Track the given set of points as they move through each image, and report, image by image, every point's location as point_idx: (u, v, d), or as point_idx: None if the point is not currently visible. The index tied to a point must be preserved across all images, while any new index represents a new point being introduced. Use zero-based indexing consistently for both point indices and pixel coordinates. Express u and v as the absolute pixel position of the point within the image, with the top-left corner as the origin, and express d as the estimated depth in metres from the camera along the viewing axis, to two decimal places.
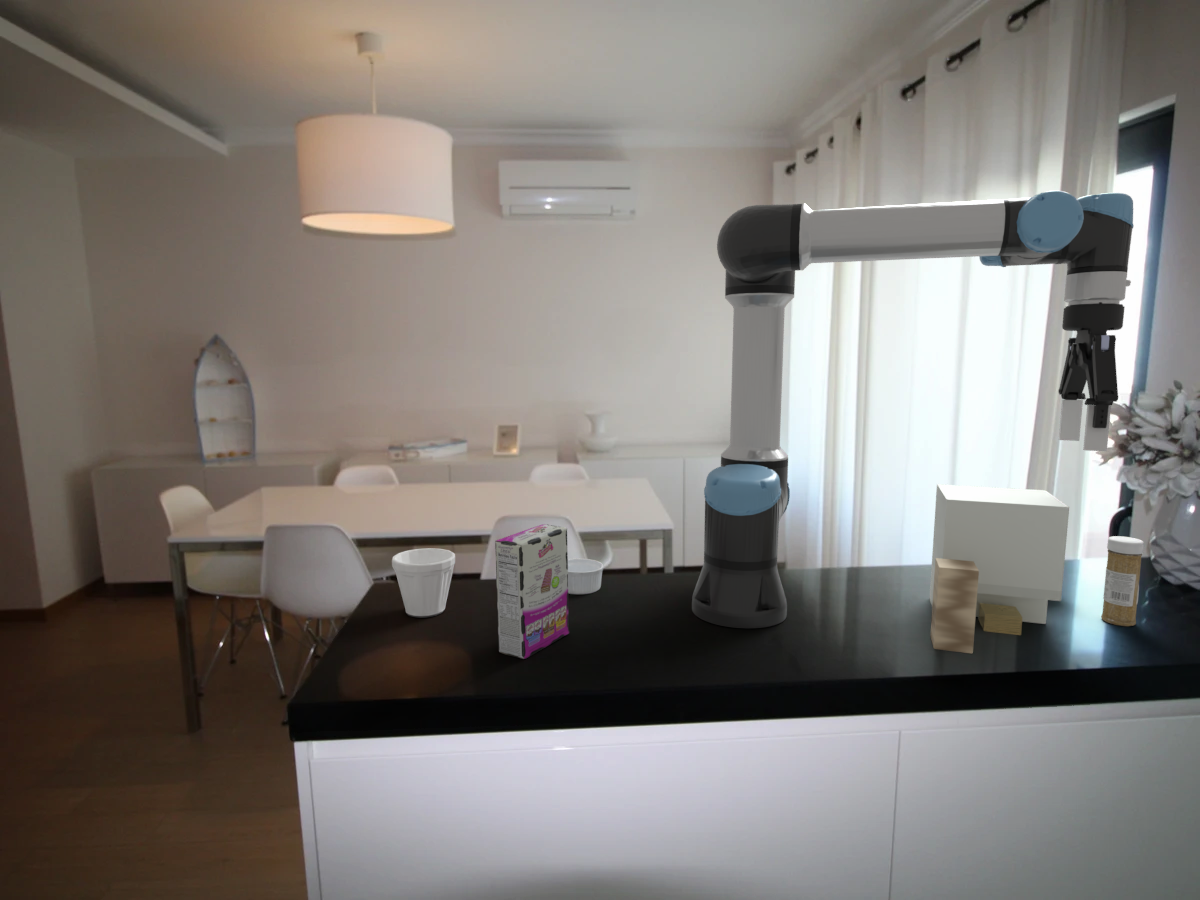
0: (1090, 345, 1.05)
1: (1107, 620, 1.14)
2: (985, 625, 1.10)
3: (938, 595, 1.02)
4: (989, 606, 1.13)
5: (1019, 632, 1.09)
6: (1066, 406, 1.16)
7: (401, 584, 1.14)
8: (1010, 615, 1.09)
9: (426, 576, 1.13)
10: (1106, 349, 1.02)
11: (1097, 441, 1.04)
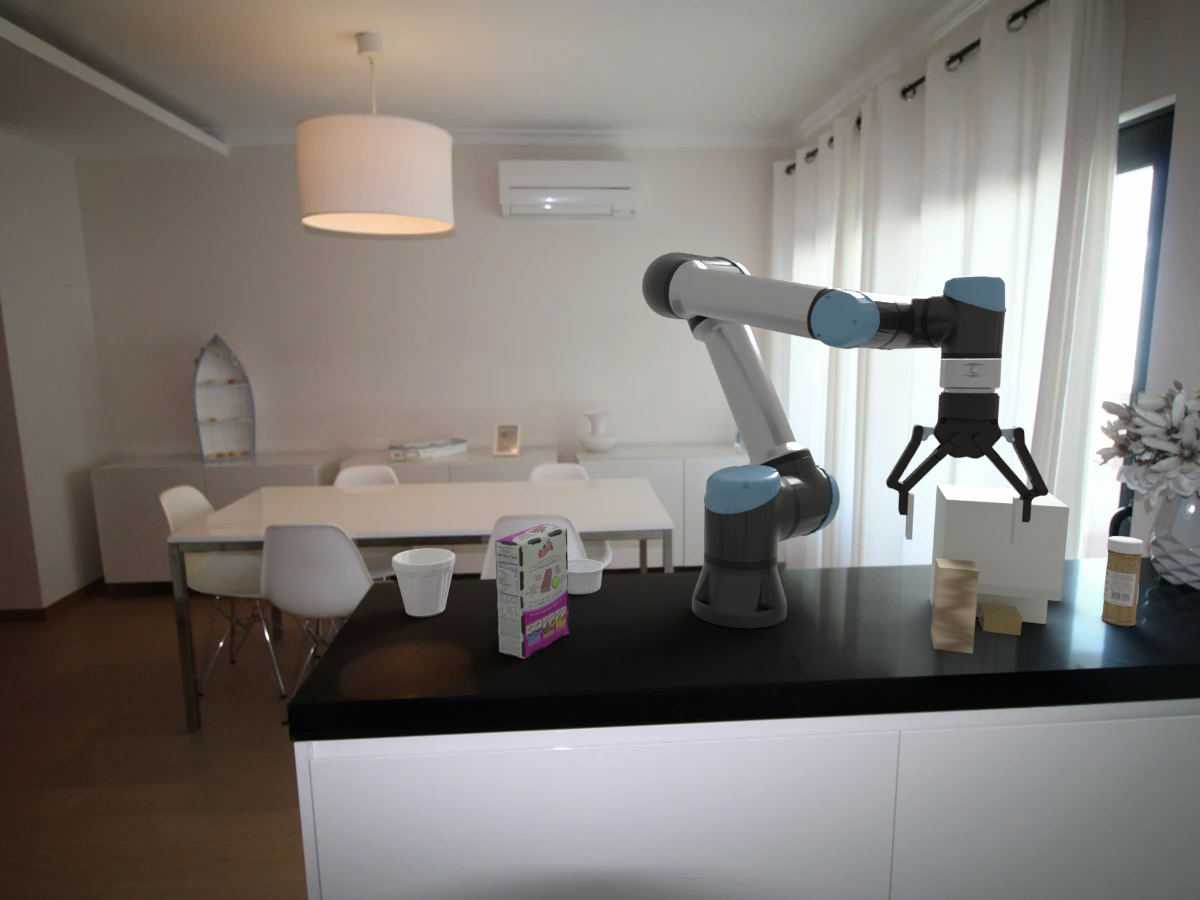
0: None
1: (1107, 620, 1.14)
2: (984, 625, 1.10)
3: (938, 595, 1.02)
4: (989, 606, 1.13)
5: (1018, 632, 1.09)
6: (1013, 504, 1.01)
7: (401, 584, 1.14)
8: (1010, 615, 1.09)
9: (426, 576, 1.13)
10: None
11: (906, 528, 1.05)
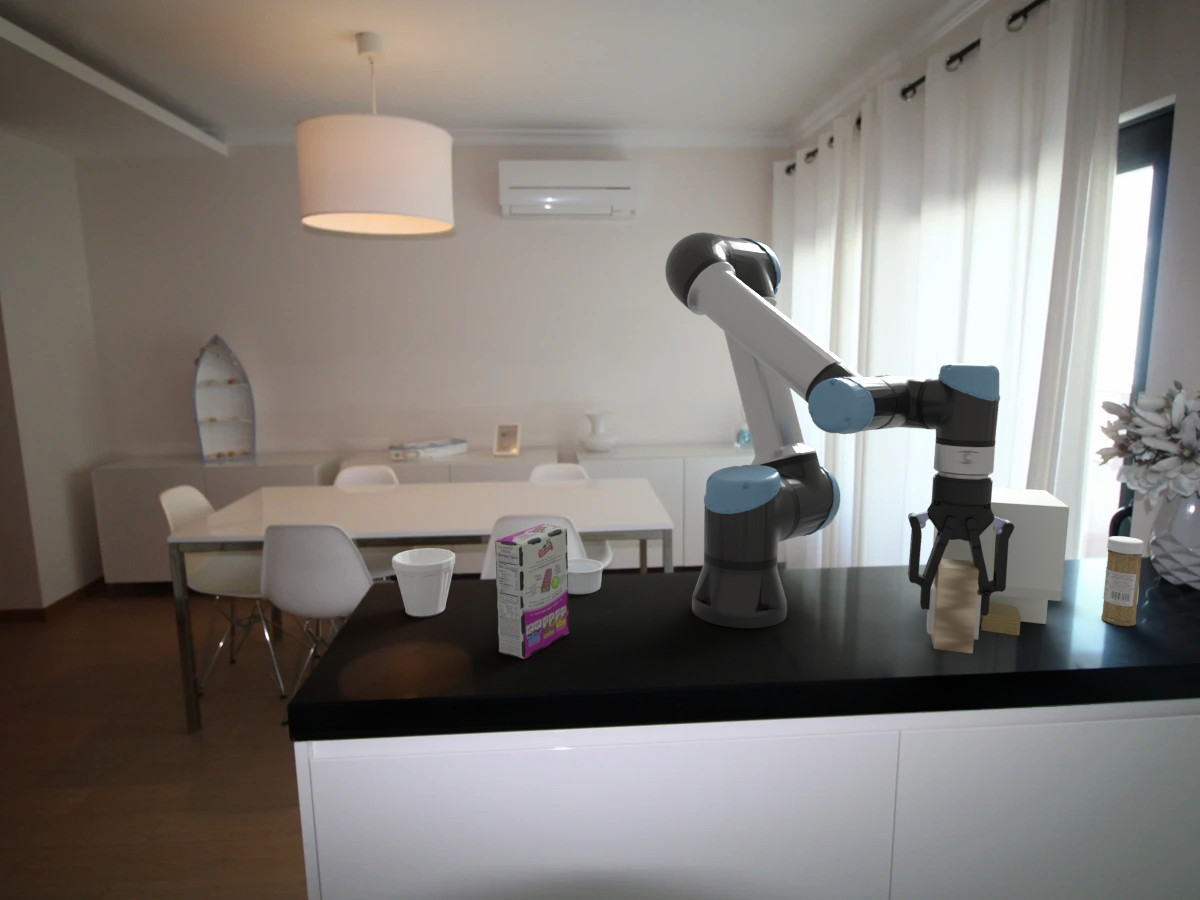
0: None
1: (1107, 620, 1.14)
2: (983, 624, 1.10)
3: (938, 595, 1.02)
4: (990, 606, 1.13)
5: (1017, 632, 1.09)
6: None
7: (401, 584, 1.14)
8: (1008, 615, 1.09)
9: (426, 576, 1.13)
10: None
11: (927, 621, 1.06)
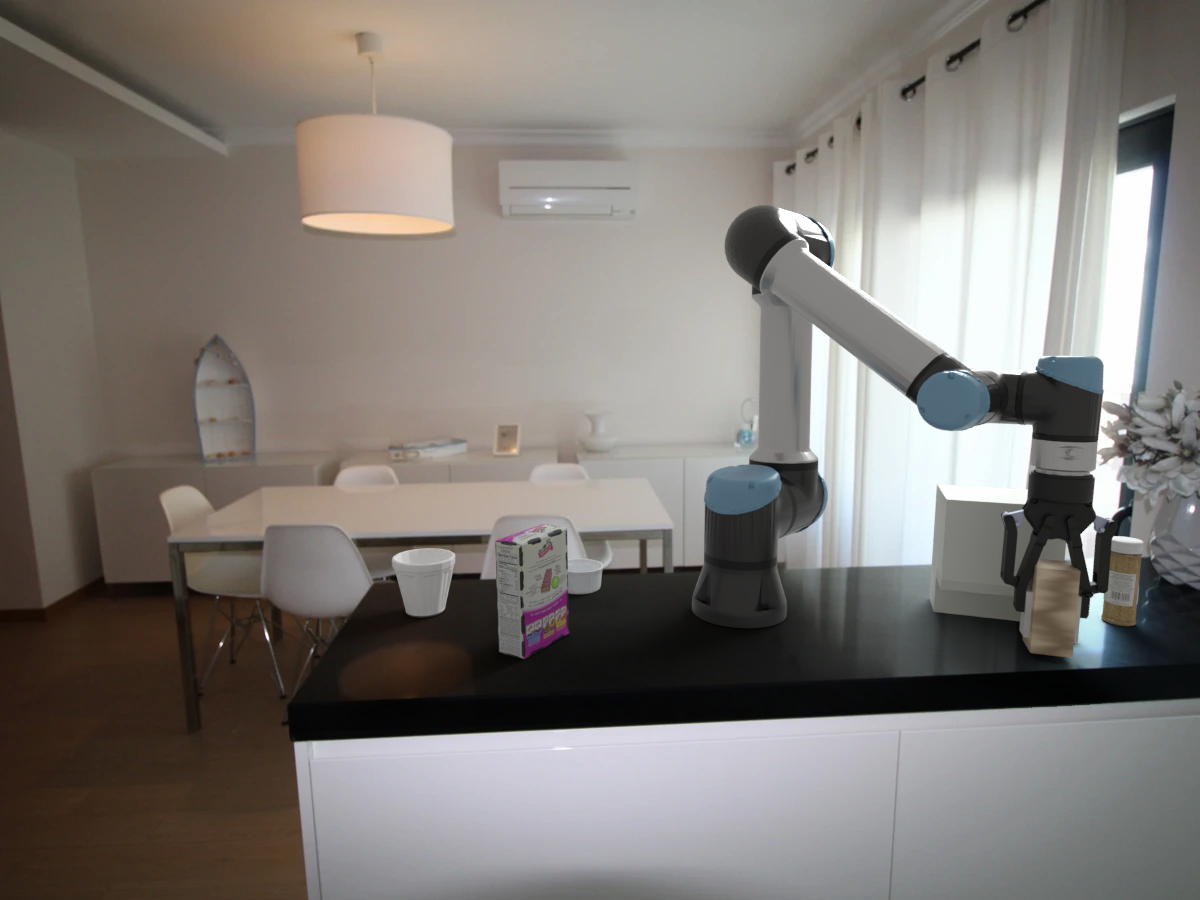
0: None
1: (1107, 620, 1.14)
2: None
3: (1036, 597, 0.98)
4: None
5: None
6: None
7: (401, 584, 1.14)
8: None
9: (426, 576, 1.13)
10: None
11: (1022, 624, 1.01)
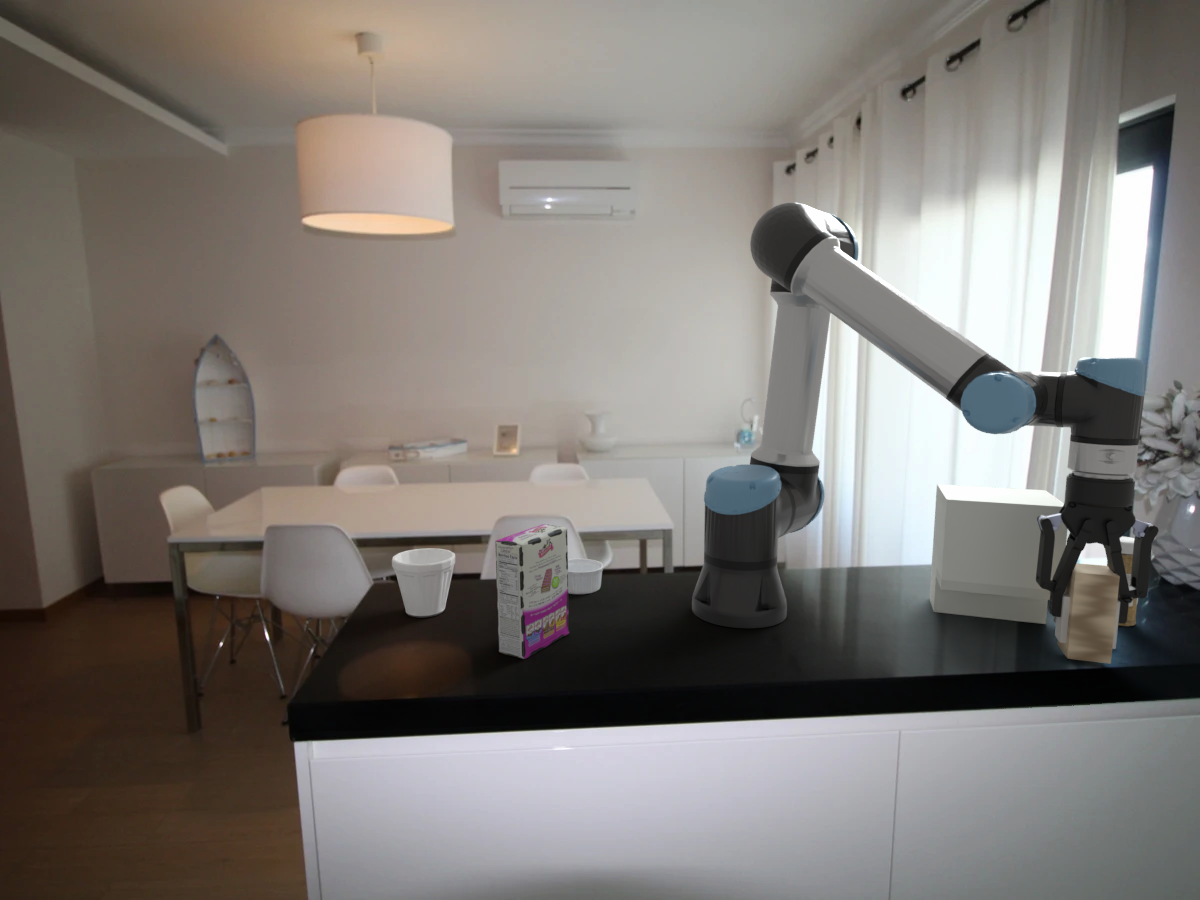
0: None
1: None
2: None
3: (1074, 602, 0.97)
4: None
5: None
6: None
7: (401, 584, 1.14)
8: None
9: (426, 576, 1.13)
10: None
11: (1058, 629, 1.00)
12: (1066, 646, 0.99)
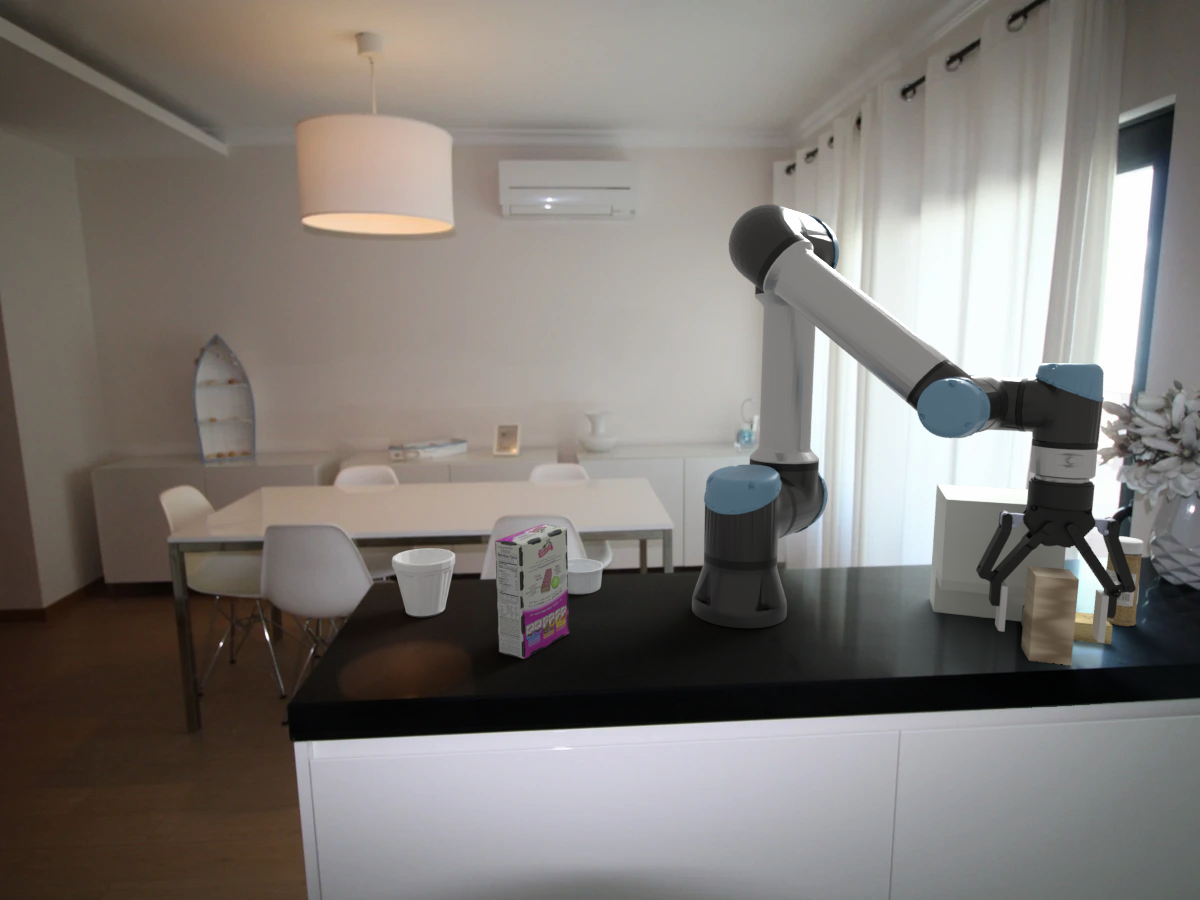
0: None
1: (1107, 620, 1.14)
2: None
3: (1034, 605, 0.98)
4: None
5: (1109, 641, 1.05)
6: (1096, 598, 0.99)
7: (401, 584, 1.14)
8: None
9: (426, 576, 1.13)
10: None
11: (997, 618, 1.02)
12: (1028, 648, 1.00)
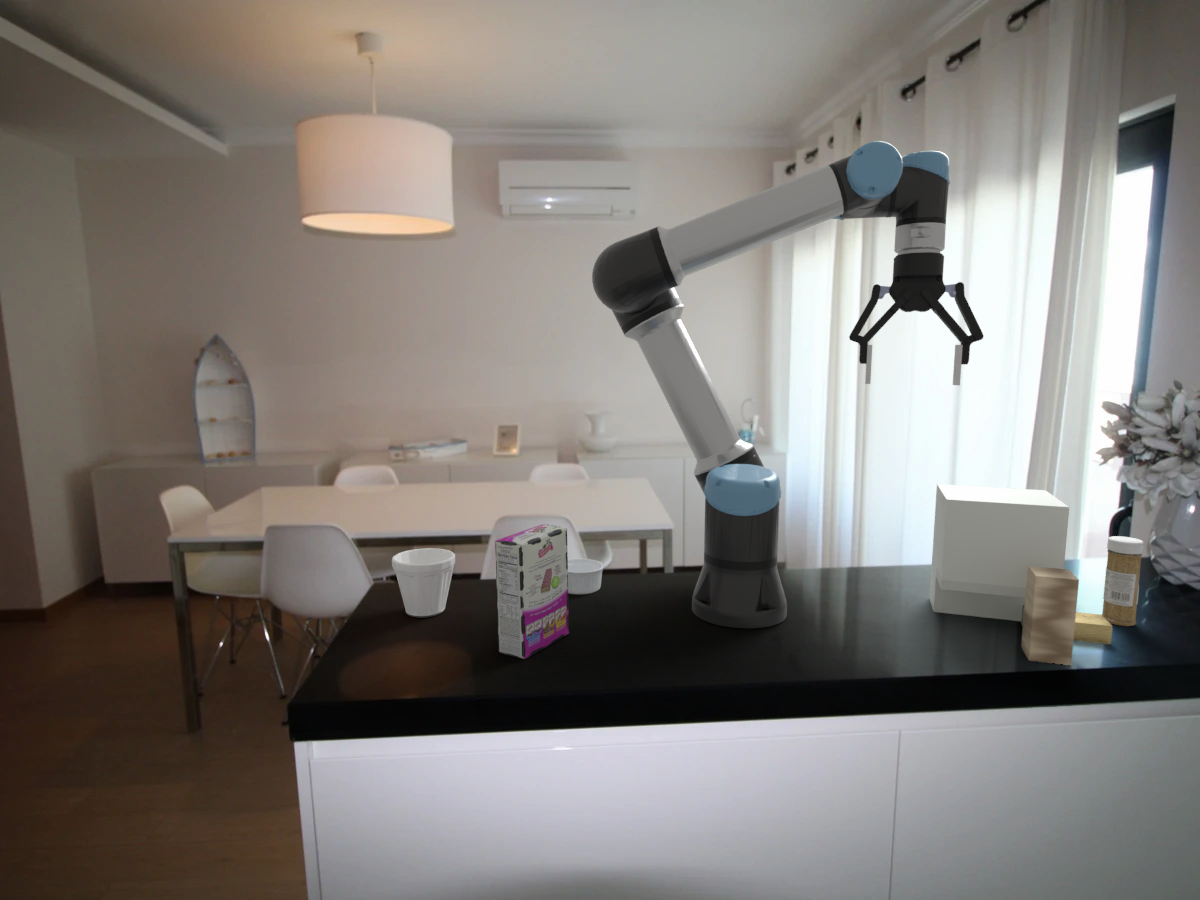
0: None
1: (1107, 620, 1.14)
2: None
3: (1034, 605, 0.98)
4: None
5: (1109, 641, 1.05)
6: (955, 351, 1.19)
7: (401, 584, 1.14)
8: (1099, 624, 1.06)
9: (426, 576, 1.13)
10: None
11: None
12: (1028, 648, 1.00)
